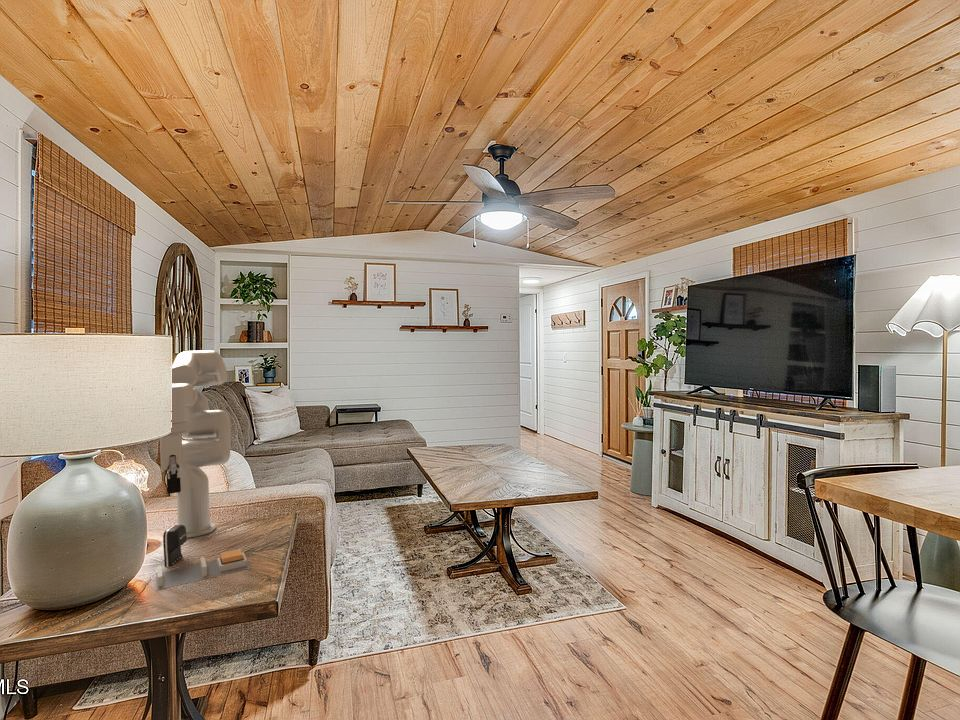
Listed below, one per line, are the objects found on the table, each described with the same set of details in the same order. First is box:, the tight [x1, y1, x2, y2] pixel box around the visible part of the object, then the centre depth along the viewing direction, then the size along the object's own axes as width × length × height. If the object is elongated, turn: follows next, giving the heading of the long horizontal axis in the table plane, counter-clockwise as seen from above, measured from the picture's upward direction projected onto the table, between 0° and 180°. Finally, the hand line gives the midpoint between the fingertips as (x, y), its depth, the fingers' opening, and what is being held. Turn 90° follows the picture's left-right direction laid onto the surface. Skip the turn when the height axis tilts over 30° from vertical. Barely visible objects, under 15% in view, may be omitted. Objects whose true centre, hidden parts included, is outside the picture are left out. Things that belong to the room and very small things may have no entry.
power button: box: [220, 548, 243, 563], centre depth 142 cm, size 5×5×1 cm
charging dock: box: [155, 551, 252, 591], centre depth 139 cm, size 12×22×4 cm, turn 122°
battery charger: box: [162, 524, 188, 568], centre depth 146 cm, size 7×4×11 cm, turn 7°
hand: (173, 489), depth 145 cm, fingers open, 9 cm apart
